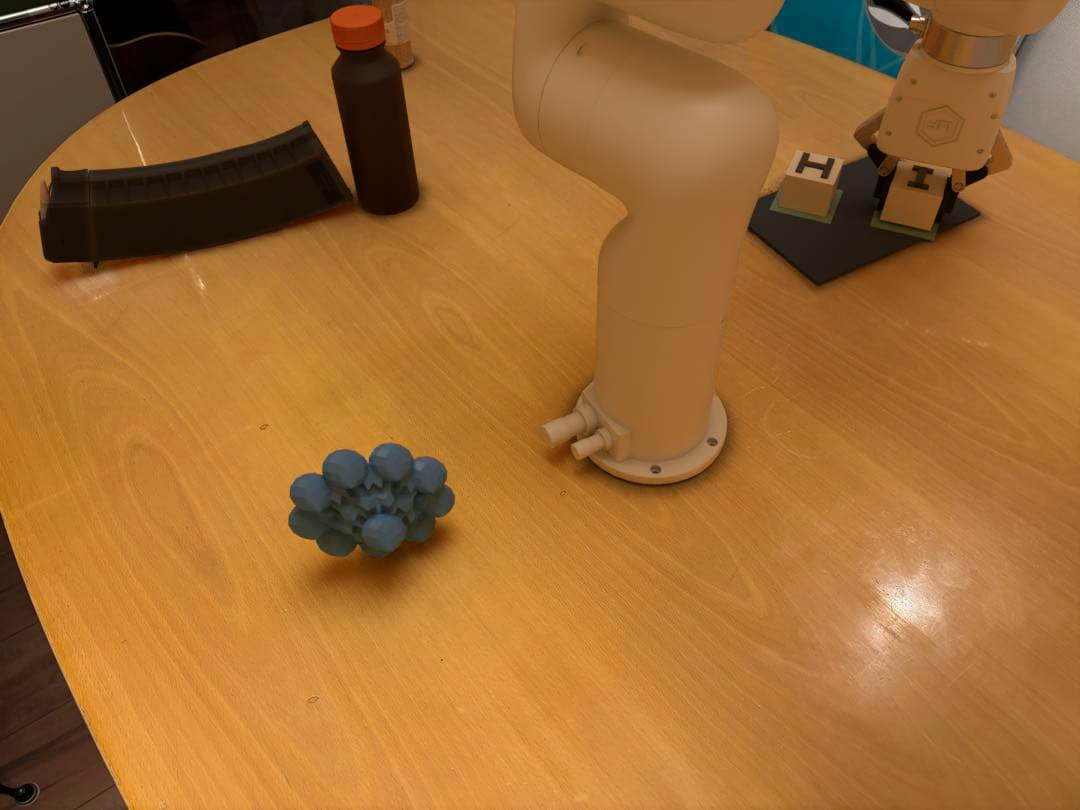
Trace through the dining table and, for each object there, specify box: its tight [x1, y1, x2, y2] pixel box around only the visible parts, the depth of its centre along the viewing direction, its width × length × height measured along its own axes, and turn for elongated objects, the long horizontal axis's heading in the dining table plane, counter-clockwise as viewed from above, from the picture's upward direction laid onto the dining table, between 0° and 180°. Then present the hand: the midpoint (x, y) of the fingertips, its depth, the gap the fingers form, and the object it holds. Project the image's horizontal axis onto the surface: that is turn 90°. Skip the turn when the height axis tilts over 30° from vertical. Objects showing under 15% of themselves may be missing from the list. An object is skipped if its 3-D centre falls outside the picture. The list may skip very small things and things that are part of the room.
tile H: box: [778, 149, 845, 217], centre depth 91 cm, size 5×5×4 cm
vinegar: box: [329, 4, 420, 215], centre depth 88 cm, size 7×7×20 cm
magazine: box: [37, 119, 355, 270], centre depth 88 cm, size 17×3×30 cm
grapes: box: [287, 442, 456, 558], centre depth 60 cm, size 12×7×12 cm, turn 112°
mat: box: [747, 155, 982, 287], centre depth 92 cm, size 22×16×1 cm
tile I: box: [880, 160, 950, 231], centre depth 89 cm, size 5×5×4 cm
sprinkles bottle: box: [371, 0, 415, 70], centre depth 111 cm, size 5×5×13 cm
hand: (909, 208), depth 90 cm, fingers closed on tile I, 5 cm apart
